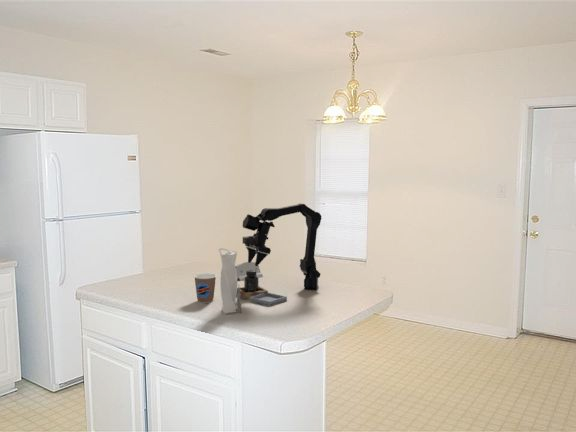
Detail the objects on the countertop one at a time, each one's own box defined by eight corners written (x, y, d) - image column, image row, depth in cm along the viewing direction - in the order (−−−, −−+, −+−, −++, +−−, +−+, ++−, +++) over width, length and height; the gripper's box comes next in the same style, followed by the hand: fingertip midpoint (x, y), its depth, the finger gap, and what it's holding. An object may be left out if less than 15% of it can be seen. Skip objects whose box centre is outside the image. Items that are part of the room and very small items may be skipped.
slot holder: (258, 291, 255) (258, 285, 255) (267, 296, 245) (267, 290, 244) (235, 293, 250) (235, 287, 250) (244, 299, 239) (244, 293, 239)
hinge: (239, 281, 278) (236, 263, 280) (235, 282, 282) (231, 264, 283) (263, 276, 290) (259, 259, 291) (258, 278, 293) (254, 261, 295)
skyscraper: (222, 315, 214) (222, 250, 211) (217, 310, 221) (216, 247, 219) (241, 313, 217) (241, 248, 215) (236, 308, 225) (235, 246, 222)
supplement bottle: (245, 293, 251) (245, 269, 250) (259, 293, 251) (259, 269, 249) (243, 297, 244) (243, 272, 243) (257, 297, 244) (257, 272, 243)
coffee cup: (190, 303, 232) (190, 277, 231) (198, 297, 242) (198, 273, 241) (212, 304, 230) (212, 278, 229) (219, 298, 240) (219, 273, 239)
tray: (267, 296, 245) (267, 292, 245) (286, 300, 238) (286, 296, 237) (249, 301, 236) (249, 297, 236) (269, 306, 228) (269, 301, 228)
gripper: (240, 226, 252) (231, 257, 252) (254, 231, 236) (244, 263, 235) (260, 232, 257) (251, 262, 256) (275, 237, 240) (265, 269, 240)
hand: (252, 264), depth 247 cm, fingers open, 9 cm apart
